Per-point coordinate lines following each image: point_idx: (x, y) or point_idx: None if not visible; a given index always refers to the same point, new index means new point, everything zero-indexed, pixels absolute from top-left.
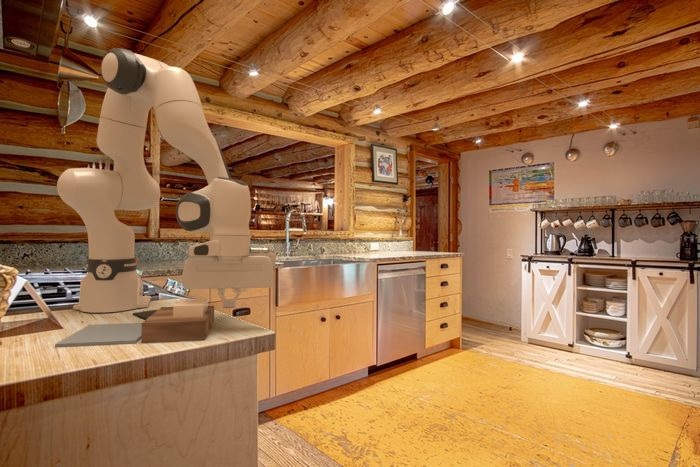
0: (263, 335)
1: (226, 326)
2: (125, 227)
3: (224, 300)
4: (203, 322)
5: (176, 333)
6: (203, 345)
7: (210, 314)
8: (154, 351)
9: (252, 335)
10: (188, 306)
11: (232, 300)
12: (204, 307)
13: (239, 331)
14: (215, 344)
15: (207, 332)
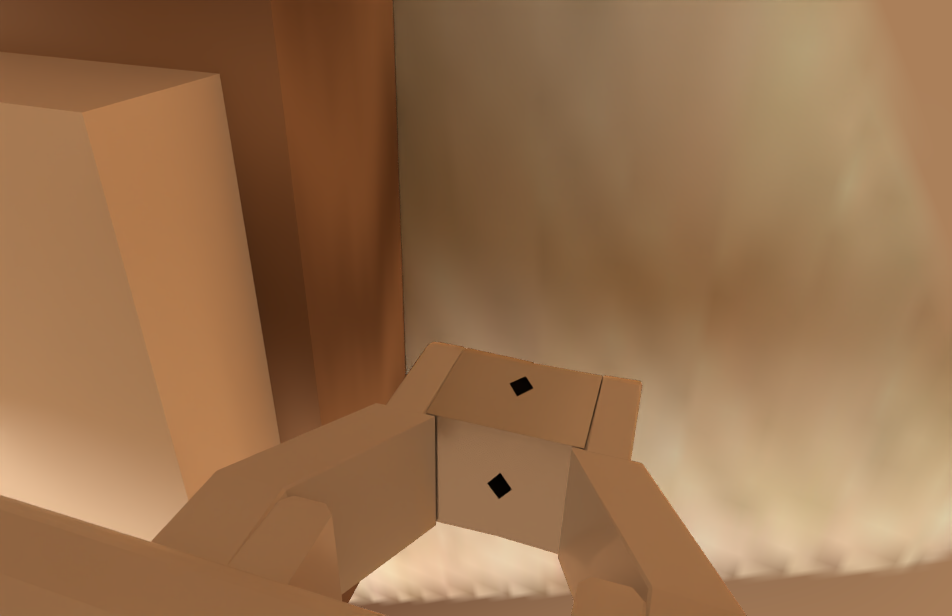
0: (891, 566)
1: (563, 118)
2: None
3: (419, 522)
4: None
5: None
6: (420, 575)
7: (322, 261)
8: None
9: (786, 527)
10: None
11: (551, 548)
12: (219, 432)
13: (688, 370)
14: (488, 589)
15: (397, 384)
